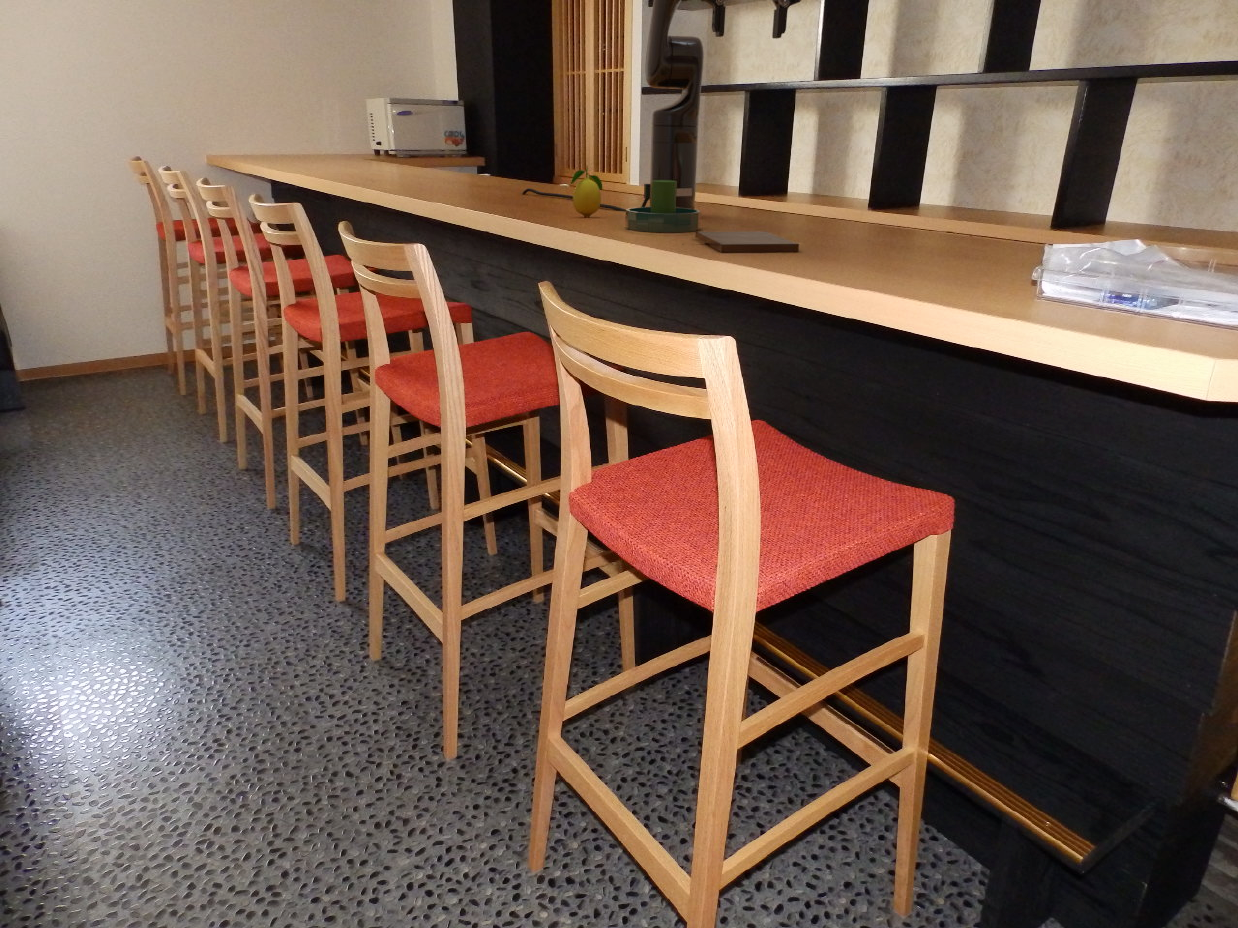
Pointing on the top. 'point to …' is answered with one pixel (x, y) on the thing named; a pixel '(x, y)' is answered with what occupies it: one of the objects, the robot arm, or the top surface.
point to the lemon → (587, 193)
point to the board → (747, 241)
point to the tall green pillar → (663, 196)
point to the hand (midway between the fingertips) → (748, 37)
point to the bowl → (662, 220)
